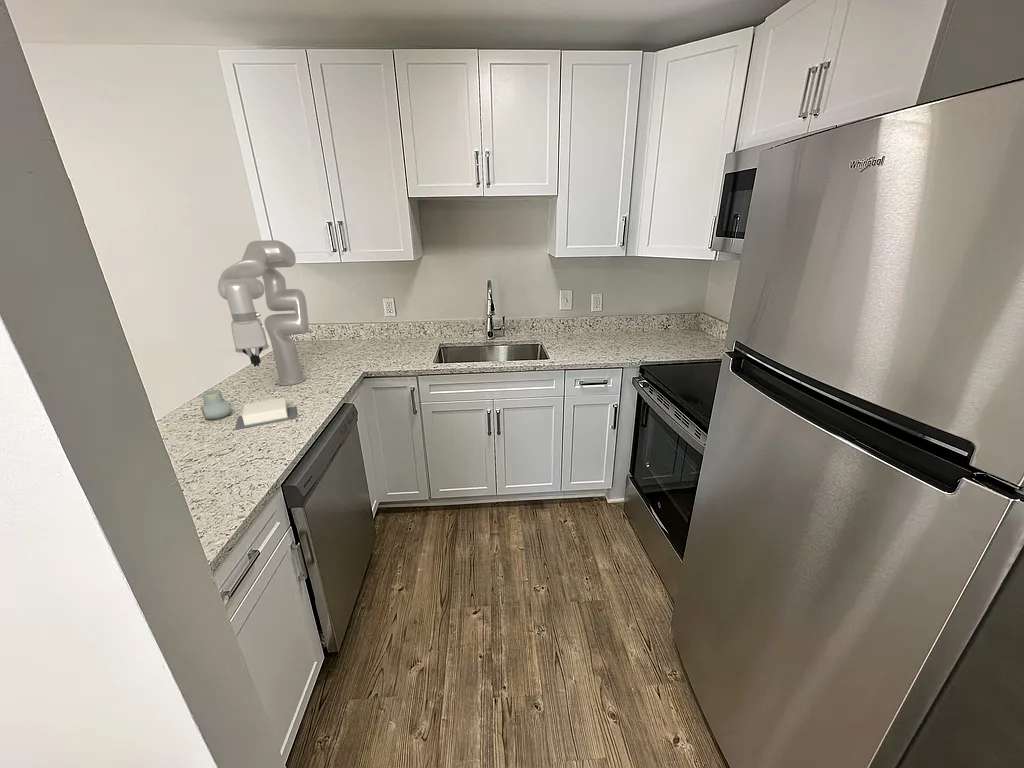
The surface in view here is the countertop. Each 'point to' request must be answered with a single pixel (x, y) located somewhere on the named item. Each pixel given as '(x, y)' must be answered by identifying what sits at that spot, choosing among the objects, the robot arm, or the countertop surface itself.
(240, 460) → the countertop surface
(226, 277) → the robot arm
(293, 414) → the mat
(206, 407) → the air freshener
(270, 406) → the tile
